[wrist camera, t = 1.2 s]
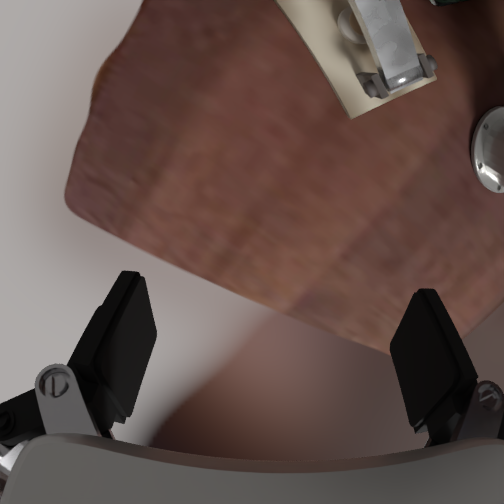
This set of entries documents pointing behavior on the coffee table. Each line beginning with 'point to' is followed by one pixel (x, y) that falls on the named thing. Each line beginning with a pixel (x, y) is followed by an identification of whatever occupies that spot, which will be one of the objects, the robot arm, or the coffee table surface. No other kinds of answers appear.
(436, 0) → the miniature car
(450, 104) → the coffee table surface
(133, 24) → the coffee table surface
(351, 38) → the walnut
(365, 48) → the base
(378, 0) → the lever
